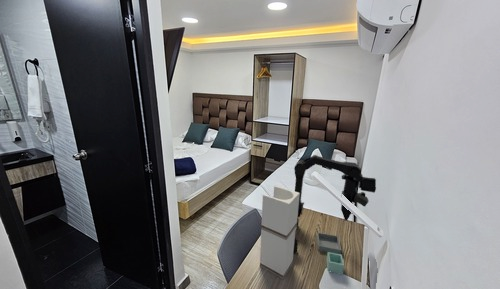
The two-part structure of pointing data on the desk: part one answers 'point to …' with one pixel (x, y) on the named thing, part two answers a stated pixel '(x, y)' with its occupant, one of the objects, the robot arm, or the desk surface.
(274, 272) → the white pencil holder
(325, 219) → the desk surface
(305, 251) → the desk surface
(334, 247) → the grey square tray
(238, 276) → the desk surface
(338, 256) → the teal crate
